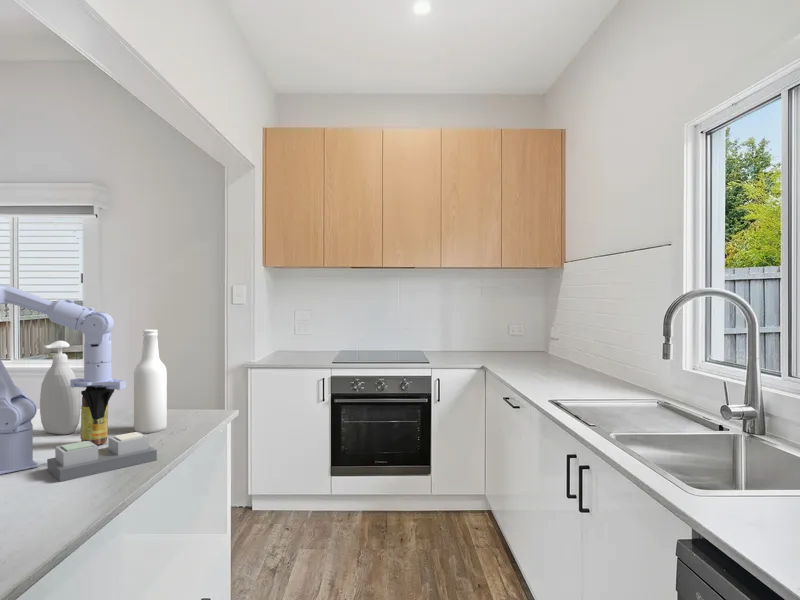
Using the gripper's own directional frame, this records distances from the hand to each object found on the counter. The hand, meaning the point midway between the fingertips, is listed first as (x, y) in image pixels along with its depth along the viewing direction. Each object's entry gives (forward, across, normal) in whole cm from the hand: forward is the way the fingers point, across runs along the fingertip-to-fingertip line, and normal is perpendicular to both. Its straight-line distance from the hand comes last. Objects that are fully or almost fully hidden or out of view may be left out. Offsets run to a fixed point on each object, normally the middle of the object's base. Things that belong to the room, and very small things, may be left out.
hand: (98, 418), depth 122 cm
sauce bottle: (+11, -13, +12) cm, 20 cm away
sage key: (+6, +1, -7) cm, 9 cm away
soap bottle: (+11, -32, +18) cm, 39 cm away
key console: (+10, +4, -2) cm, 11 cm away
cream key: (+6, +6, +3) cm, 9 cm away
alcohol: (+11, -9, +28) cm, 31 cm away
